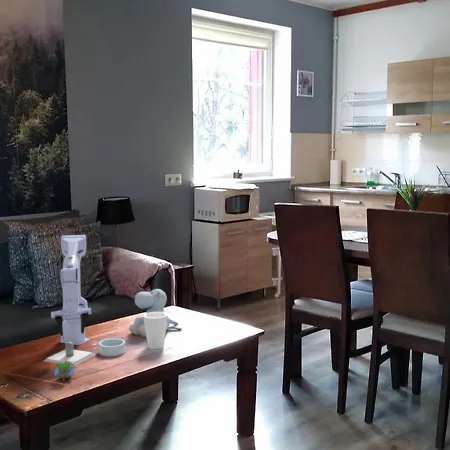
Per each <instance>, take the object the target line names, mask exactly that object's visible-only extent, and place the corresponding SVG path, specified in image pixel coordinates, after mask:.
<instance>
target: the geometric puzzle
mask: <svg viewBox="0 0 450 450" xmlns="http://www.w3.org/2000/svg"><path fill="white" fill-rule="evenodd" d="M75 370H76V365H75V366H74V365H73V363H72V362H69V361H67V360H65V364H57V366H55V370H54V372H53V373H54V374H53V377H56V379H58V380H59V379H62V380H59V381H60V382H62V381H63V383H65V382H67V381H68V379H72V377H74V376H75ZM65 379H66V380H65Z"/></svg>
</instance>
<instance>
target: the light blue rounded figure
mask: <svg viewBox="0 0 450 450" xmlns="http://www.w3.org/2000/svg"><path fill="white" fill-rule="evenodd" d="M166 294H167V293H166V292H165V291H163V290H162V289H160V288H155V289H152V290H151V291H150V292H149V291H140V292H138V293H137V294H136V295H135V296H134V298H135V299H134V303H135V306H137V307H138V308H140V309H141V310H144V309H147V311H146V312H145V314H146V313H149V312H164V313H165V310H164V308H165V306H166V304H167V300H168V298H167V295H166ZM170 325H175V326H178V325H179V322H178V321H175V320H174V319H171V318H170V317H169V316H168V315H167V323H166V332H167V330H168V329H172V330H178V331H180V330H182V327H175V326H170ZM128 330H129V332H130V333H132V334H133V335H134V336H141V337H142V338H145V339H147V337H146V330H145V324H144V320H143V316H138V317H135V318H134V321H133V323H132V324H130V325H129V327H128ZM166 332H165V334H166Z"/></svg>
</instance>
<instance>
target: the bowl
mask: <svg viewBox="0 0 450 450" xmlns="http://www.w3.org/2000/svg"><path fill="white" fill-rule="evenodd" d="M125 353H126V340H124V339H122V338H118V337H117V338H116V337H115V338H106V339H103V340H100V341H99V343H98V354H99V355H101V356H103V357H104V356H105V357H116V356H120V355H123V354H125Z"/></svg>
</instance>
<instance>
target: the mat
mask: <svg viewBox="0 0 450 450" xmlns="http://www.w3.org/2000/svg"><path fill="white" fill-rule="evenodd" d="M96 355H97V354H96V353H92V355H91V356H89V357H87V358H85V359H83V360H81V361H79V362H77V363H76V364H74V366H75V367H76V366H77V365H78V364H81V363H82V362H84V361H86V360H88V359H90V358H91V357H94V356H96ZM43 362H46V363H51V364H56V365H58V364H64V363H59V362H53V361H47V358H46V359H44V360H43Z"/></svg>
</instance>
